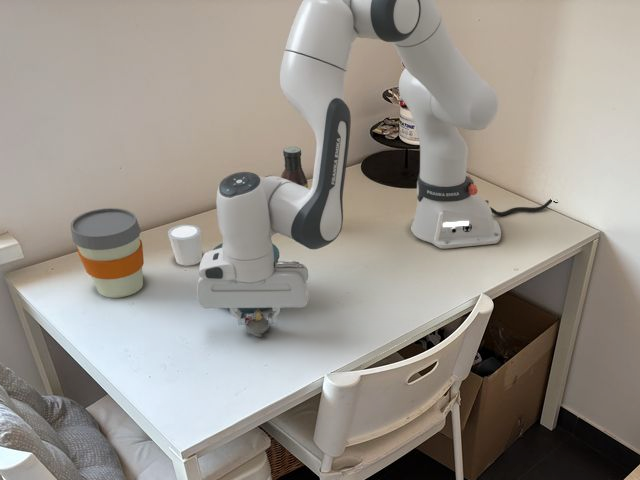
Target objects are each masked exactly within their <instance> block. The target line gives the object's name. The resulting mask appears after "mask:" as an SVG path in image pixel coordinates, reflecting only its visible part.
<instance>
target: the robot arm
mask: <svg viewBox="0 0 640 480" xmlns="http://www.w3.org/2000/svg"><path fill="white" fill-rule="evenodd" d="M357 38H361V39H367V40H368V39H370V40H380V41H381V40H382V41H383V42H387V43H392V46H393V47H394V49H395V51H396V53H397V55H398V57H399V59H400V61H401V62H402V64H403V66H404V69H403V71H401V75H400V77H399V80H398V93H399V96H400V98H401V101H403V103H404V104H405V105H406V107H407V109H408V111H409V113H410V114H411V117H412V120H413V122H414V123H413V124H414V126H415V129H416V132H417V136H418V141H419V173H418V175H417V181H416V198H417V202H416V209H415V213H414V218H413V221H412V223H411V226H410V231H411V233H412V234H413V235H414V236H415V237H416V238H417V239H420V240H421V241H424V242H426V243H430V244H432V245H434V246H435V247H437V248H438V249H442V250H443V249H444V250H445V249H454V248H455V249H456V248H466V247H473V246H474V247H476V246H486V245H494V244H495V245H496V244H498V243H499V242H500V240H501V239H502V229H501V225H500V224H499V222H498V221H497V219H495V218H494V215H495V216H499V217H504V216H508V215H510V214H511V213H514V212H539V211H542V210H544V209H546V208H547V207H548V206H550V205H551V204H552V203H554V204H559V201H558V202H555V201H553V202H552V200H551V198H550V199H549V200H547V201H546V202H545V203H544V204H543V205H541V206H536V207H530V206H529V207H528V206H526V207H525V206H516V207H512V208H509V209H506V210H505V211H497V210H495V208H493V207H491V206H490V204H489V200H488V199H487V200H486V199H484V198H482V197H481V196H480V195H479V194H478V191H479V190H478V187H477V185H476V184H475V182H474V180H473V179H472V177H471V176H470V174H468V175H467V170H468V169H467V167H468V156H469V148H468V145H467V144H468V143H467V142H466V141H465V138H464V137H463V136H462V135H461V133H460V132H459V130H458V128H459V129H462V130H469V131H470V130H471V131H483V130H486V129H487V128H488V127H490V125H491V124H492V123H493V122H494V120H495V119H496V117H497V115H498V112H499V106H500V102H499V101H500V100H499V95H498V92H497V90H496V89H495V88H494V87H493V86H492V85H490V84H489V83H488V82H487V81H486V80H485V79H484V78H483V77H481V76H480V74H479V73H478V72H477V71H476V70H475V69H474V68H473V66H472V65H471V64H470V63H469V61H468V60H467V59H466V58H465V56H464V55H463V53H461V51H460V50H459V48H458V47H457V45H456V44H455V42H454V41H453V39H452V37H451V34H450V32H449V30H448V28H447V25H446V24H445V21H444V18H443V16H442V14H441V12H440V9H439V8H438V5H437V3H436V1H435V0H302V2H301V4H300V6H299V8H298V10H297V12H296V15H295V16H294V19H293V22H292V24H291V28H290V30H289V34H288V37H287V40H286V44H285V48H284V52H283V55H282V60H281V62H280V63H281V64H280V70H279V85H280V89H281V91H282V93H283V95H284V97H285V99H286V100H287V102H288V104H289V105H290V106H291V108H293V109H294V110H295V111H296V112H297V113H298V114H299V115H300V116H301V117H302V118H303V119H304V120H305V121H306V122H307V123H308V124H309V126H310V128H311V129H312V131H313V133H314V137H315V141H316V143H315V144H316V147H315V148H316V149H315V157H314V166H313V172H312V173H313V174H312V181H311V186H310V188H309V187H308V188H306V187H304V186H301V185H298V184H296V183H294V182H292V181H289V180H286V179H284V178H281V176H277V175H266V176H259V175H258V174H256V173H254V172H252V171H251V172H250V171H239V172H235V173H231V174H229V175H228V176H226V177H224V178H222V180H221V181H220V182H219V184H218V187H217V191H216V216H217V223H218V230H219V232H220V234H221V236H222V243H223V245H222V248H219V249H216V250H213V249H211V250H209V251H206V252H205V253H204V254H203V255H202V260H201V261H200V262H199V267H198V273H199V278H198V280H197V283H196V296H197V297H196V298H197V303H198V305H199V306H200V307H201V308H203V309H227V308H230V310H229V312H230V314H232V315H233V316H234V318H235V319H237V325H238V326H246V324H247V323H248V321H247V319H246V318H247V313H244V312H240V310H239V309H238V308H267V309H270V308H272V312H267V317H266V318H267V320H268V325H269V326H270V325H271V326H273V325H274V326H275V325H277V318H278V315H279V314H280V312H281V308H305V307H306V306H307V304H308V302H309V289H308V284H307V283H308V282H307V281H308V280H309V270H308V267H307V266H305V264H302V263H300V261H295V260H293V261H282V260H280V261H279V260H278V261H274V253H273V244H274V243H273V241H272V237H273V236H274V235H276V234H279V235H282V236H284V237H287V238H288V239H292V240H294V241H295V242H296V243H298V244H299V245H301V246H304V247H305V248H307V249H309V250H319V249H321V248H324V247H326V246H328V245H330V244H331V243H333V242H334V241H335V240H336V239H337V238H338V237H339V236H340V234H341V232H342V228H343V225H344V224H343V223H344V207H343V206H344V205H343V202H344V201H343V197H344V190H345V189H344V188H345V179H346V171H347V165H348V164H347V162H348V157H349V156H348V155H349V147H350V138H351V129H352V128H351V125H352V118H351V117H352V115H351V111H350V107H349V106H348V105H347V103H346V99H345V80H346V75H347V71H348V67H349V62H350V57H351V53H352V45H353V43H354V41H355V40H356V39H357ZM272 243H273V244H272Z"/></svg>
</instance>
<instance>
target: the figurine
mask: <svg viewBox="0 0 640 480" xmlns="http://www.w3.org/2000/svg"><path fill="white" fill-rule="evenodd" d="M267 318H268V317H266V315H265V314H263V313H262V310H260V308H257V311H255V312H253V313H250V314H249V313H248V314H247V313H246V319H247V323H246V325H245V330H246V332H247V333H248V334H251V335H253V336H254V337H258V338H262V336H263V334H264V333H266V331H268V329H269V328H270V325H268V319H267Z"/></svg>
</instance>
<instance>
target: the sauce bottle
mask: <svg viewBox="0 0 640 480" xmlns="http://www.w3.org/2000/svg"><path fill="white" fill-rule="evenodd" d="M282 153H283V157H284V158H283V159H284V170H283V171H282V173H281V176H280V177H281V178H284V179H286V180H289V181H292V182H294V183H296V184H298V185H301V186H304V187H306V188H309V182H308V179H307V177H306V175H305V172H304V169H303V166H302V158H301V157H302V149H301V148H300V147H298V146H286V147H284V148H283V149H282Z"/></svg>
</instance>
